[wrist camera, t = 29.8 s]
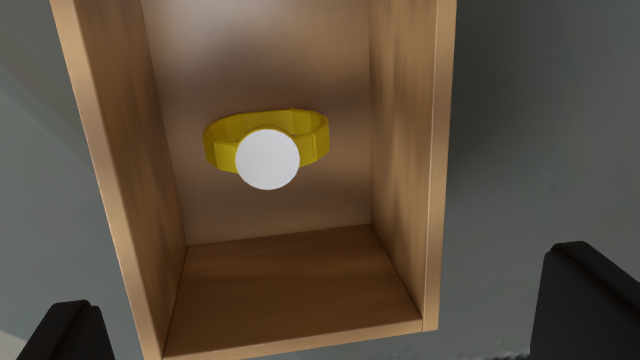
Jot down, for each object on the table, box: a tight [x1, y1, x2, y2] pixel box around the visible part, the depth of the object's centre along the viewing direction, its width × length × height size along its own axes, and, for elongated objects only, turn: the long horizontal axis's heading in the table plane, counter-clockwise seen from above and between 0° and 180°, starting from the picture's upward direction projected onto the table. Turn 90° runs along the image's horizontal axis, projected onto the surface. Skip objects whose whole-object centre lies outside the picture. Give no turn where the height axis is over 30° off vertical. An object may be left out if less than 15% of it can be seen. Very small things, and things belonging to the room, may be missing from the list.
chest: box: [49, 0, 457, 360], centre depth 20 cm, size 18×12×10 cm
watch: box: [202, 108, 330, 190], centre depth 22 cm, size 6×3×6 cm, turn 94°
